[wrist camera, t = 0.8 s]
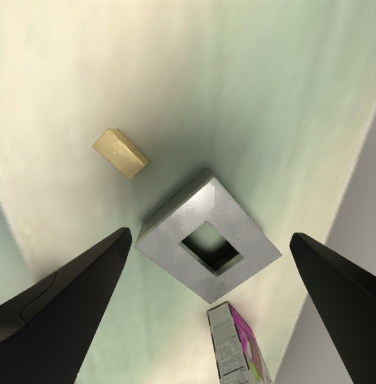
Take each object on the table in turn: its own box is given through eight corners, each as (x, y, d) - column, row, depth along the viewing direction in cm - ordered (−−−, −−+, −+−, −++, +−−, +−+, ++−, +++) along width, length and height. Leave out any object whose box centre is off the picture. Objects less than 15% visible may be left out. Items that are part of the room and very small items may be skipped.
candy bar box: (253, 328, 33) (320, 496, 18) (232, 338, 34) (279, 508, 18) (228, 298, 30) (285, 477, 14) (205, 310, 30) (236, 493, 15)
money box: (204, 274, 27) (210, 304, 22) (142, 223, 23) (134, 246, 18) (262, 232, 25) (282, 255, 20) (205, 167, 21) (214, 177, 16)
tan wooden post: (136, 174, 21) (130, 180, 18) (104, 144, 19) (92, 146, 16) (149, 161, 20) (145, 165, 17) (118, 129, 19) (107, 128, 16)
